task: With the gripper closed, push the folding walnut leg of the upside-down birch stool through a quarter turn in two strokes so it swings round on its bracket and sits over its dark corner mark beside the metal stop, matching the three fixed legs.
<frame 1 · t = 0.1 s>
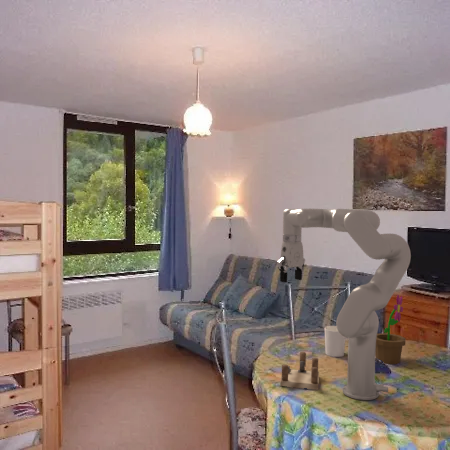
hand: (291, 280, 194), 37 cm above the table, tool pointing down, fingers open, 9 cm apart
flowerpot: (388, 360, 210), on the table
hinged leg: (302, 361, 191), point 5 cm above the table, hinge at -90.0°
stool: (300, 381, 183), on the table
white paper cup: (334, 354, 217), on the table
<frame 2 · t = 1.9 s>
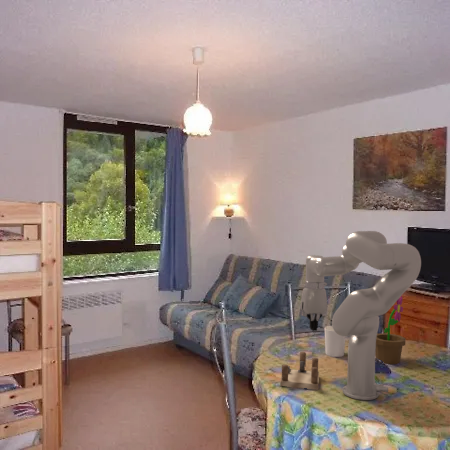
hand: (313, 329, 194), 17 cm above the table, tool pointing down, fingers closed
nothing on the table moved.
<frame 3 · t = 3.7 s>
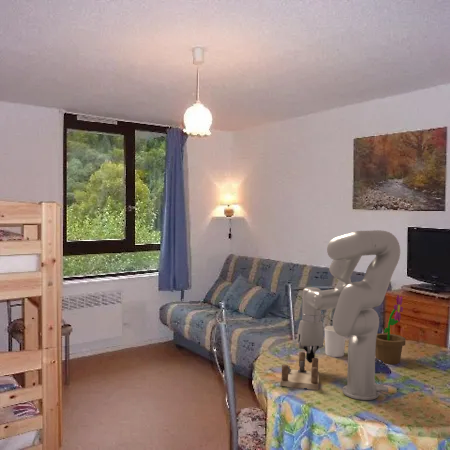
hand: (310, 361, 195), 4 cm above the table, tool pointing down, fingers closed
hinged leg: (302, 361, 191), point 5 cm above the table, hinge at -87.0°, touching gripper
everything else where it was.
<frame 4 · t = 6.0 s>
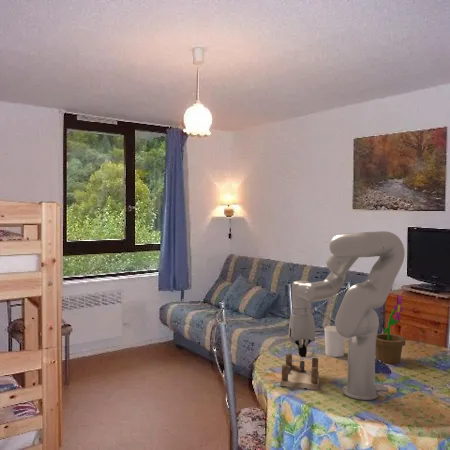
hand: (302, 356, 193), 7 cm above the table, tool pointing down, fingers closed
hinged leg: (295, 362, 190), point 5 cm above the table, hinge at -24.5°
everything else where it was.
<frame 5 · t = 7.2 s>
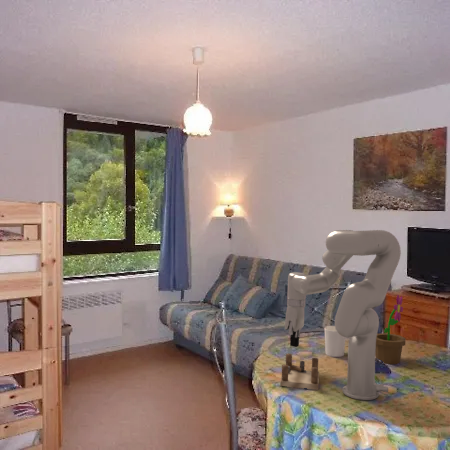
hand: (294, 345, 197), 10 cm above the table, tool pointing down, fingers closed
nothing on the table moved.
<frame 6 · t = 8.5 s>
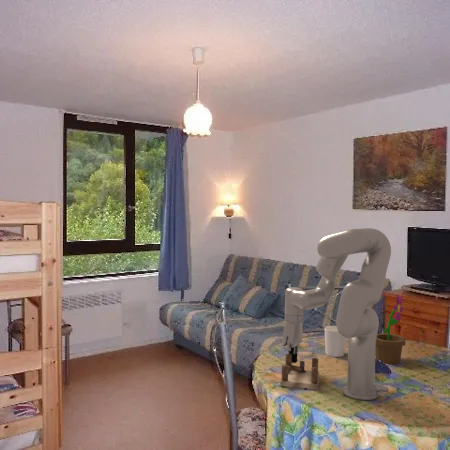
hand: (292, 362, 194), 4 cm above the table, tool pointing down, fingers closed
hinged leg: (295, 362, 190), point 5 cm above the table, hinge at -22.0°, touching gripper
everything else where it was.
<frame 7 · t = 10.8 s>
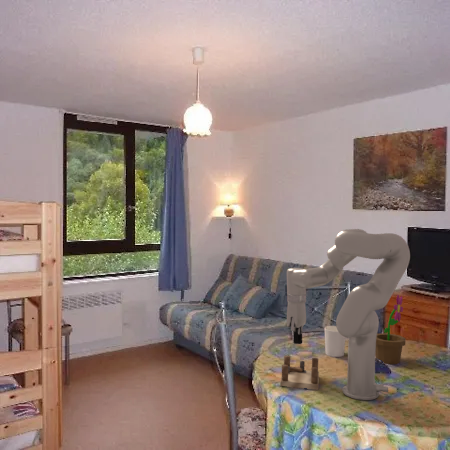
hand: (297, 343, 192), 12 cm above the table, tool pointing down, fingers closed
hinged leg: (294, 363, 188), point 5 cm above the table, hinge at 5.6°
everything else where it was.
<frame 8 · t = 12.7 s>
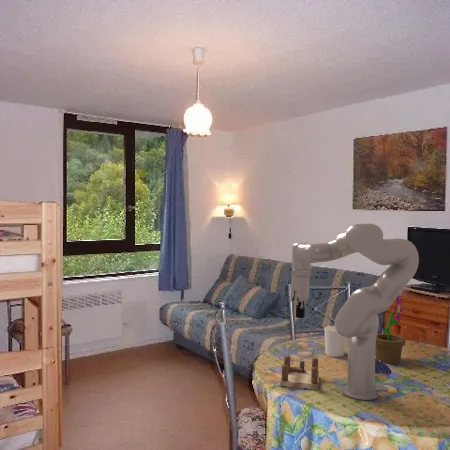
hand: (300, 317, 194), 22 cm above the table, tool pointing down, fingers closed
nothing on the table moved.
at the end: hinged leg at +6° (first picture: -90°) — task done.
